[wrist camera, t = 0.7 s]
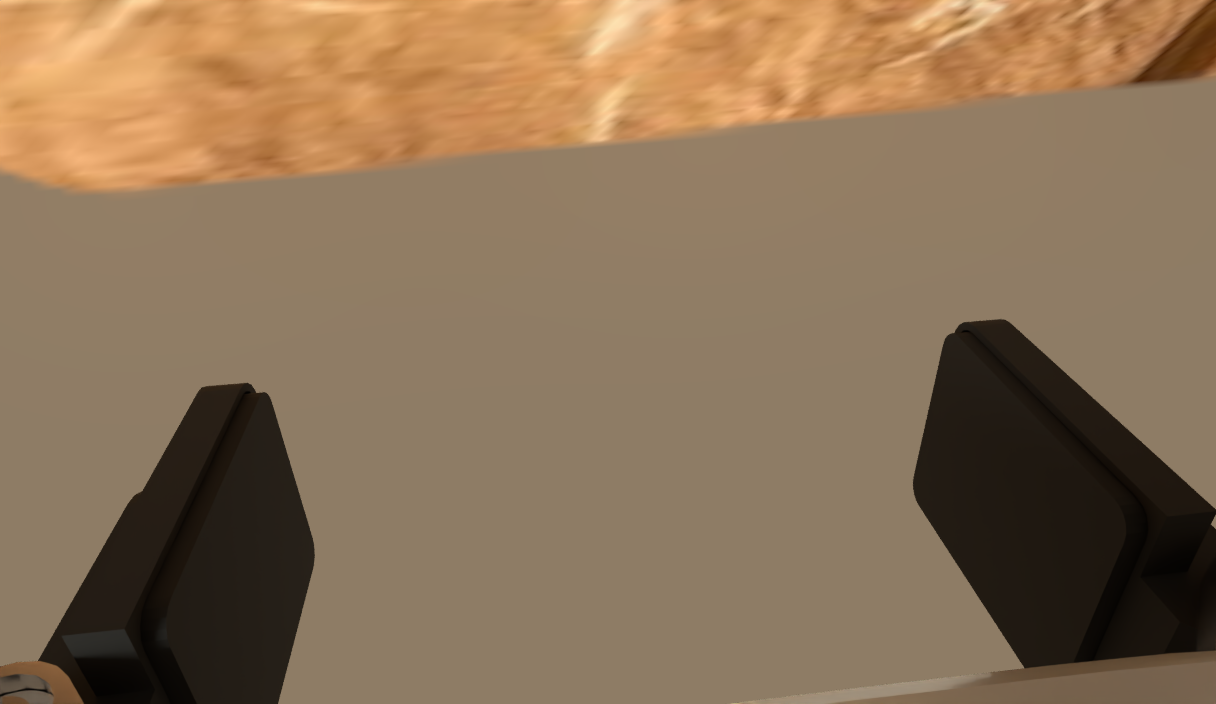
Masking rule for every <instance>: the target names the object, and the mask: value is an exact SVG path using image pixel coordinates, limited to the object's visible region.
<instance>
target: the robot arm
mask: <svg viewBox="0 0 1216 704" xmlns="http://www.w3.org/2000/svg"><path fill="white" fill-rule="evenodd" d="M913 490H914V495H915V498H916V501H917V503H918V505H919V506H920V508H921V509H922V511H923V512H924V514H925V516H926V517H927V519H928V520H929V522H930V523H931V525H932V526H933V528H934V529H935V531H936V533H937V534H938V536H939V537H940V539H941V540H942V542H943V543H944V545H945V546H946V548H947V549H948V551H949V553H950V554H951V556H952V557H953V559H954V560H955V562H956V563H957V565H958V566H959V568H960V569H961V571H962V572H963V574H964V576H965V577H966V579H967V580H968V582H969V583H970V585H971V586H972V588H973V589H974V591H975V593H976V594H977V596H978V597H979V599H980V600H981V602H982V603H983V605H984V606H985V608H986V609H987V611H988V613H989V614H990V615H991V617H992V619H993V620H994V622H995V623H996V625H997V626H998V628H999V629H1000V631H1001V632H1002V634H1003V636H1004V637H1005V639H1006V640H1007V642H1008V643H1009V645H1010V646H1011V648H1012V649H1013V651H1014V652H1015V654H1016V656H1017V657H1018V659H1019V660H1020V662H1021V663H1022V665H1023V666H1024V669H1016V670H1007V671H998V672H990V673H982V674H973V675H965V676H956V677H947V678H939V679H931V680H921V681H913V682H905V683H896V684H887V685H879V686H870V687H862V688H853V689H846V690H838V691H829V692H821V693H812V694H804V695H797V696H788V697H779V698H771V699H763V700H755V701H747V702H738V703H730V704H1216V529H1215V528H1214V527H1213V526H1212V525H1211V523H1212V521H1213V519H1214V517H1215V515H1216V509H1215V508H1213V507H1212V506H1211V505H1210V504H1209V503H1208V502H1207V501H1206V500H1205V499H1204V498H1202V497H1201V496H1200V495H1199V494H1198V493H1197V492H1196V491H1195V490H1194V489H1192V488H1191V487H1190V486H1189V485H1188V484H1187V483H1186V482H1185V481H1184V480H1183V479H1181V478H1180V477H1179V476H1178V475H1177V474H1176V473H1175V472H1174V471H1173V470H1172V469H1170V468H1169V467H1168V466H1167V465H1166V464H1165V463H1164V462H1163V461H1162V460H1161V459H1160V458H1158V457H1157V456H1156V455H1155V454H1154V453H1153V452H1152V451H1151V450H1150V449H1149V448H1147V447H1146V446H1145V445H1144V444H1143V443H1142V442H1141V441H1140V440H1139V439H1137V438H1136V437H1135V436H1134V435H1133V434H1132V433H1131V432H1130V431H1129V430H1128V429H1126V428H1125V427H1124V426H1123V425H1122V424H1121V423H1120V422H1119V421H1118V420H1117V419H1115V418H1114V417H1113V416H1112V415H1111V414H1110V413H1109V412H1108V411H1107V410H1106V409H1104V408H1103V407H1102V406H1101V405H1100V404H1099V403H1098V402H1097V401H1096V400H1094V399H1093V398H1092V397H1091V396H1090V395H1089V394H1088V393H1087V392H1086V391H1085V390H1083V389H1082V388H1081V387H1080V386H1079V385H1078V384H1077V383H1076V382H1075V381H1074V380H1072V379H1071V378H1070V377H1069V376H1068V375H1067V374H1066V373H1065V372H1064V371H1063V370H1061V369H1060V368H1059V367H1058V366H1057V365H1056V364H1055V363H1054V362H1053V361H1051V359H1049V358H1048V357H1047V356H1046V355H1045V354H1044V353H1043V352H1042V351H1041V350H1039V349H1038V348H1037V347H1036V346H1035V345H1034V344H1033V343H1032V342H1031V341H1029V340H1028V339H1027V338H1026V337H1025V336H1024V335H1023V334H1022V333H1021V332H1020V331H1019V330H1017V329H1016V328H1015V327H1014V326H1013V325H1012V324H1011V323H1009V322H1008V321H1006V320H1001V319H999V320H986V321H974V322H964V323H962V324H960V325H959V326H958V328H957V329H956V331H955V333H952V334H949V335H948V336H947V337H946V338H945V341H944V344H943V348H942V352H941V357H940V361H939V366H938V370H937V375H936V379H935V384H934V388H933V393H932V397H931V402H930V406H929V411H928V415H927V420H926V424H925V429H924V433H923V438H922V442H921V447H920V451H919V456H918V460H917V464H916V469H915V474H914V479H913ZM314 556H315V554H314V543H313V538H312V535H311V531H310V528H309V525H308V521H307V518H306V515H305V511H304V508H303V505H302V501H301V498H300V495H299V492H298V488H297V485H296V481H295V478H294V475H293V471H292V468H291V465H290V461H289V458H288V455H287V452H286V448H285V445H284V441H283V438H282V435H281V431H280V428H279V425H278V421H277V418H276V415H275V411H274V408H273V405H272V402H271V399H270V397H269V395H268V394H267V393H265V392H263V393H256V392H255V389H254V388H253V387H252V385H251V384H249V383H241V384H228V385H217V386H206V387H202V388H201V389H200V390H199V391H198V393H197V395H196V397H195V398H194V400H193V402H192V404H191V405H190V407H189V409H188V411H187V413H186V415H185V416H184V418H183V420H182V422H181V424H180V425H179V427H178V429H177V430H176V432H175V434H174V436H173V438H172V439H171V441H170V443H169V445H168V447H167V448H166V450H165V452H164V454H163V455H162V458H161V459H160V461H159V463H158V464H157V466H156V468H155V470H154V472H153V473H152V475H151V477H150V479H149V481H148V482H147V484H146V486H145V487H144V489H143V491H142V492H140V493H138V494H136V495H135V496H134V497H133V498H132V499H131V501H130V502H129V503H128V505H127V506H126V508H125V510H124V511H123V513H122V515H121V517H120V519H119V520H118V522H117V524H116V525H115V527H114V529H113V531H112V533H111V534H110V536H109V538H108V539H107V541H106V543H105V545H104V546H103V548H102V550H101V552H100V553H99V555H98V557H97V559H96V561H95V562H94V564H93V566H92V567H91V569H90V571H89V573H88V575H87V576H86V578H85V580H84V582H83V583H82V585H81V587H80V588H79V590H78V592H77V594H76V596H75V597H74V599H73V601H72V602H71V604H70V606H69V608H68V609H67V611H66V613H65V615H64V616H63V618H62V620H61V622H60V623H59V625H58V627H57V629H56V630H55V632H54V634H53V636H52V637H51V639H50V641H49V642H48V644H47V646H46V648H45V649H44V651H43V653H42V655H41V657H40V658H39V660H38V661H29V662H15V663H11V664H7V665H4V666H0V704H278V701H279V697H280V694H281V690H282V686H283V682H284V678H285V674H286V670H287V666H288V663H289V659H290V655H291V651H292V647H293V644H294V640H295V636H296V632H297V628H298V624H299V620H300V617H301V613H302V608H303V605H304V601H305V597H306V593H307V590H308V586H309V582H310V578H311V574H312V570H313V566H314Z"/></svg>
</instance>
